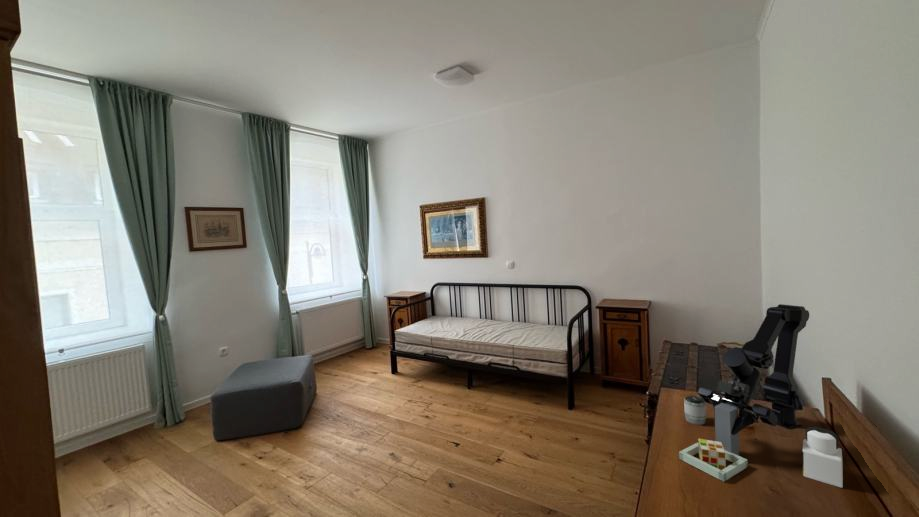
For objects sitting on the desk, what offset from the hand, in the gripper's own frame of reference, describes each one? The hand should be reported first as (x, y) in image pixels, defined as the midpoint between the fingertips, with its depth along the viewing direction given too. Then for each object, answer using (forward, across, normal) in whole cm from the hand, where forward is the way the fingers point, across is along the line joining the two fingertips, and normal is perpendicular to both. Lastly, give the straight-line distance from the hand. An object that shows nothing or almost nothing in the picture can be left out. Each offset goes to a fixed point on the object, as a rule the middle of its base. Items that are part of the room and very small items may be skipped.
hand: (724, 430), depth 104 cm
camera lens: (-4, -16, +15) cm, 22 cm away
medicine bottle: (-3, +17, +14) cm, 22 cm away
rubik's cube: (+10, 0, +1) cm, 10 cm away
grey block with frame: (+8, 0, +2) cm, 9 cm away
